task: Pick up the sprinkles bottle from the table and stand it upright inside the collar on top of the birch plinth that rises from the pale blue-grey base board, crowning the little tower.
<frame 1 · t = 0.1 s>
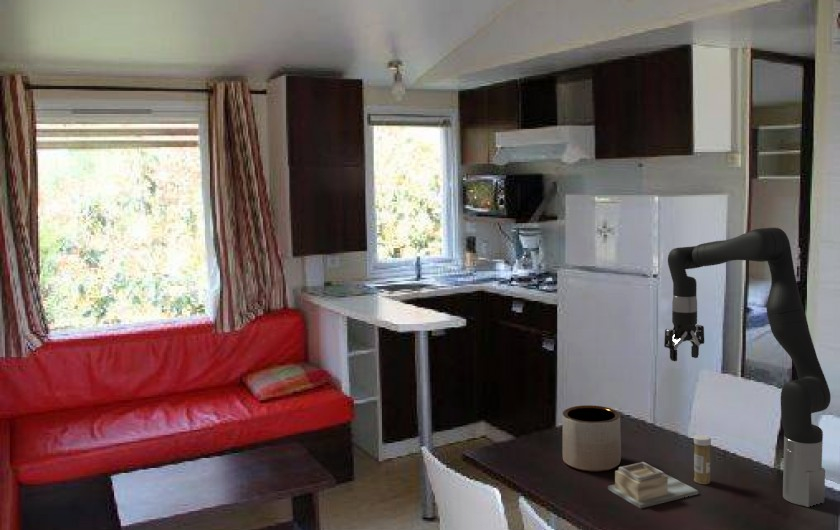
hand: (684, 359, 242), 29 cm above the table, tool pointing down, fingers open, 8 cm apart
sprinkles bottle: (702, 482, 218), on the table
build base: (652, 491, 212), on the table
planter: (591, 462, 235), on the table
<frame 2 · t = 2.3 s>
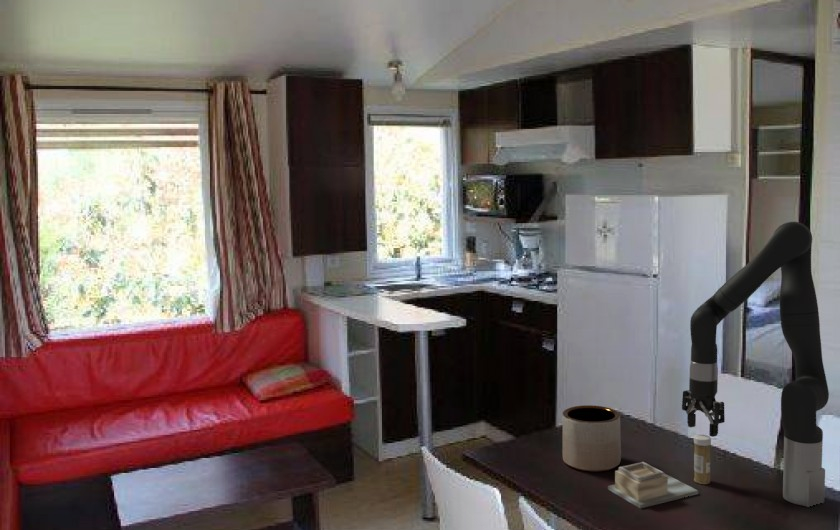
hand: (702, 431, 216), 15 cm above the table, tool pointing down, fingers open, 8 cm apart
nothing on the table moved.
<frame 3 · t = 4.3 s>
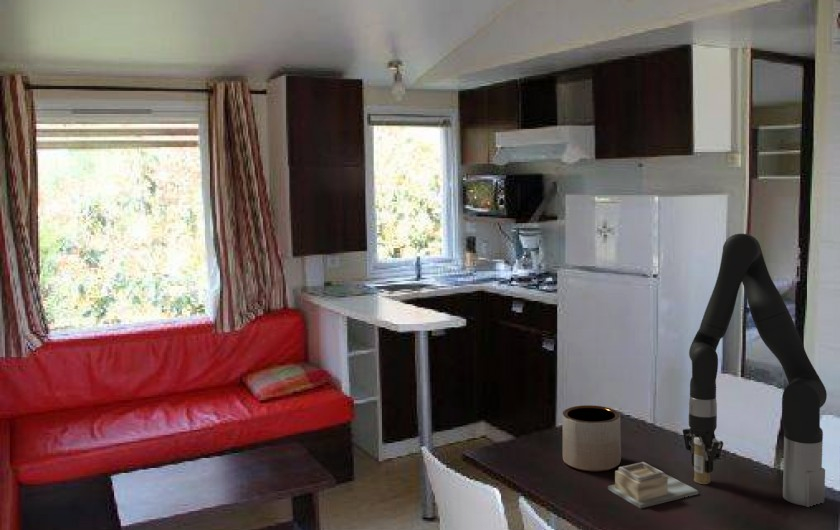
hand: (702, 468, 217), 4 cm above the table, tool pointing down, fingers closed on sprinkles bottle, 4 cm apart
sprinkles bottle: (702, 482, 218), on the table, touching gripper
everything else where it was.
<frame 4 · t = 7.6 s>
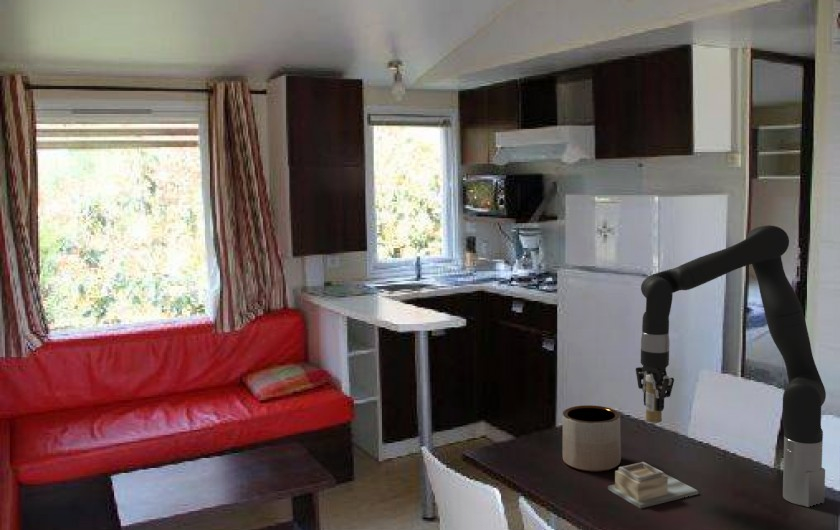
hand: (653, 407, 210), 24 cm above the table, tool pointing down, fingers closed on sprinkles bottle, 4 cm apart
sprinkles bottle: (653, 421, 211), point 20 cm above the table, touching gripper
everything else where it was.
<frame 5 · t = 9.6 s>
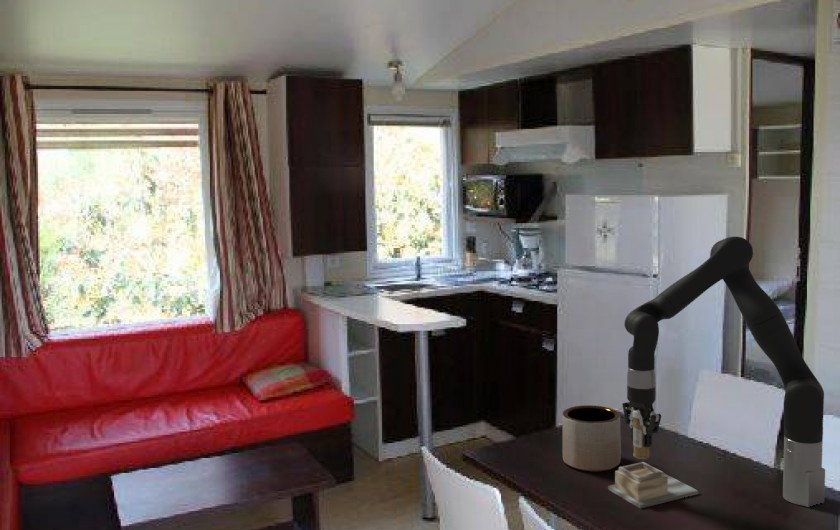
hand: (641, 443, 209), 15 cm above the table, tool pointing down, fingers closed on sprinkles bottle, 4 cm apart
sprinkles bottle: (641, 457, 209), point 11 cm above the table, touching gripper
everything else where it was.
when the fingers open (10 cm above the table, at t = 11.3 s): sprinkles bottle stays where it is, resting on build base.
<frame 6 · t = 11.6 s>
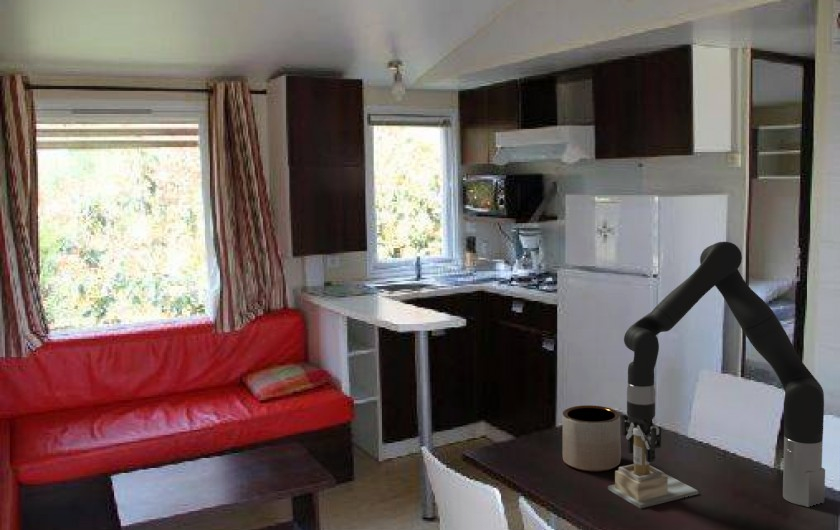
hand: (641, 456, 209), 11 cm above the table, tool pointing down, fingers open, 7 cm apart
sprinkles bottle: (641, 474, 210), point 6 cm above the table, touching build base
everything else where it was.
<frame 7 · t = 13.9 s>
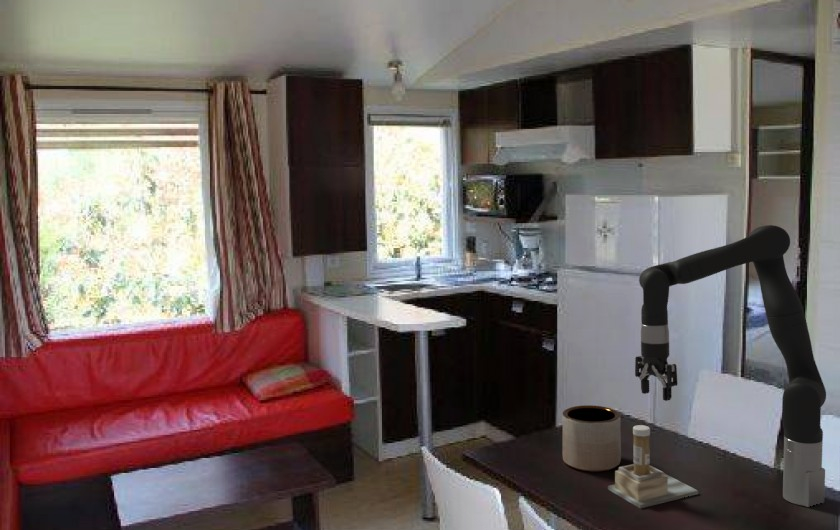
hand: (656, 396, 211), 27 cm above the table, tool pointing down, fingers open, 8 cm apart
nothing on the table moved.
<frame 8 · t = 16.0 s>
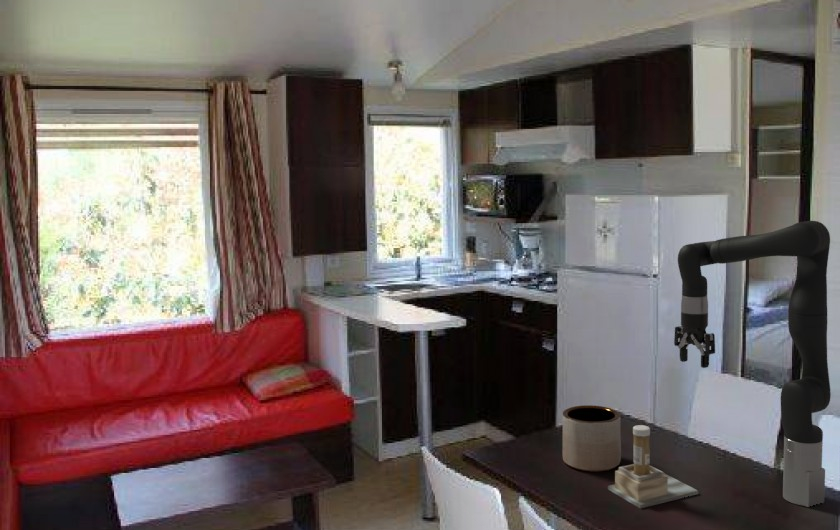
hand: (694, 364, 224), 32 cm above the table, tool pointing down, fingers open, 8 cm apart
nothing on the table moved.
at the end: sprinkles bottle 0.1 cm from the target spot on the build base, point 5.8 cm above the build base's base; sprinkles bottle tilted 0°; the gripper is holding nothing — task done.
